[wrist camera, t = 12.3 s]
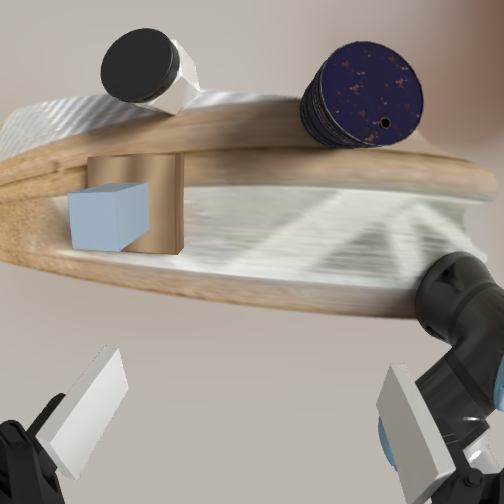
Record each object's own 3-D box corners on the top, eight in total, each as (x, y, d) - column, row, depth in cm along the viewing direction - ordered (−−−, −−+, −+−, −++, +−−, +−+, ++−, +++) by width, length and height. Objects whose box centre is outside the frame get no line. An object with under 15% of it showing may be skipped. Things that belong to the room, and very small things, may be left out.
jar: (132, 107, 36) (86, 94, 24) (151, 54, 33) (113, 25, 22) (190, 120, 36) (160, 108, 25) (210, 65, 34) (189, 33, 22)
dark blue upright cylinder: (289, 85, 34) (302, 47, 20) (358, 72, 33) (404, 36, 19) (311, 156, 37) (339, 158, 23) (379, 141, 36) (436, 138, 22)
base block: (184, 152, 37) (175, 152, 34) (183, 247, 42) (176, 256, 38) (100, 156, 38) (85, 157, 34) (103, 242, 42) (90, 250, 38)
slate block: (148, 182, 35) (115, 192, 26) (149, 229, 37) (118, 251, 28) (107, 183, 35) (67, 193, 26) (109, 228, 37) (72, 248, 28)
